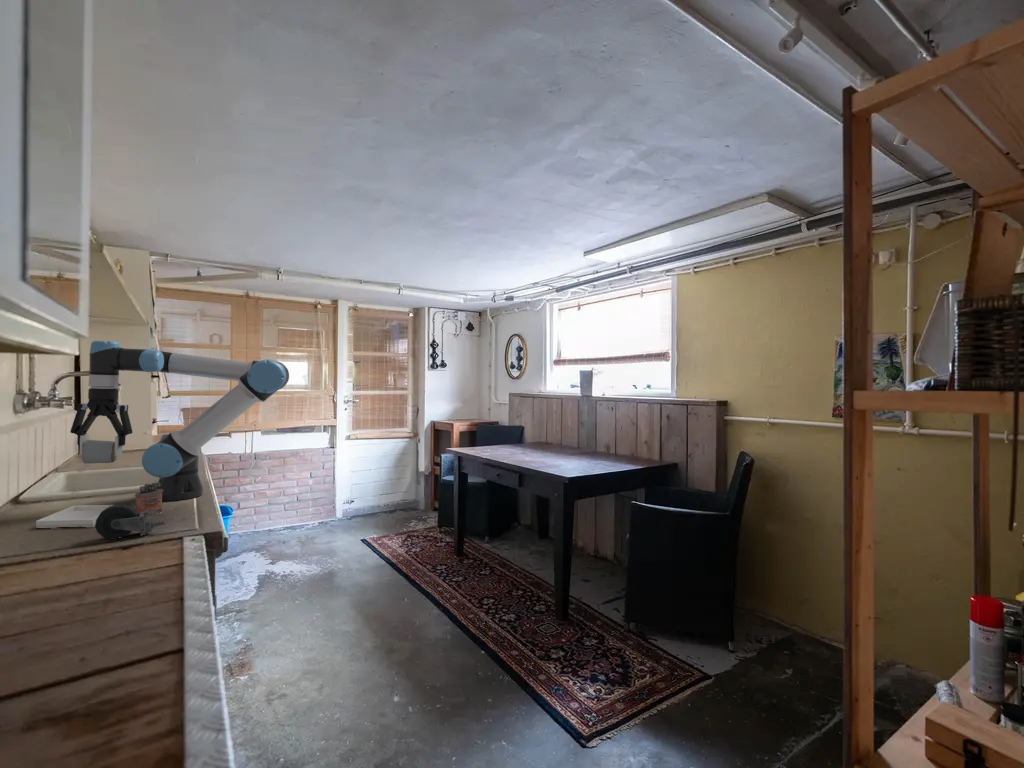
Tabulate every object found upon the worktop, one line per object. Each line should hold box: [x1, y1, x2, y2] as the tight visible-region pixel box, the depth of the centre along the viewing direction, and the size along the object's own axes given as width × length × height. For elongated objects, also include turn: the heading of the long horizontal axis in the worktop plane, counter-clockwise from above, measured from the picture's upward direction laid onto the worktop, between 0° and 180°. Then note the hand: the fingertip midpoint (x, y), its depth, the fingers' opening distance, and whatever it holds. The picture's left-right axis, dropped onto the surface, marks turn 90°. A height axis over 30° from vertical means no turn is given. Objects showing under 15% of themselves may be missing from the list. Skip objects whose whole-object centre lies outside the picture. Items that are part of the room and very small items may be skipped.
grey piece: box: [81, 439, 118, 465], centre depth 160 cm, size 11×8×8 cm
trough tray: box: [35, 504, 114, 528], centre depth 147 cm, size 14×16×2 cm
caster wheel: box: [94, 504, 165, 539], centre depth 135 cm, size 6×10×15 cm
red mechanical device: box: [134, 481, 163, 517], centre depth 155 cm, size 8×3×10 cm, turn 162°
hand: (101, 455), depth 159 cm, fingers closed on grey piece, 9 cm apart
